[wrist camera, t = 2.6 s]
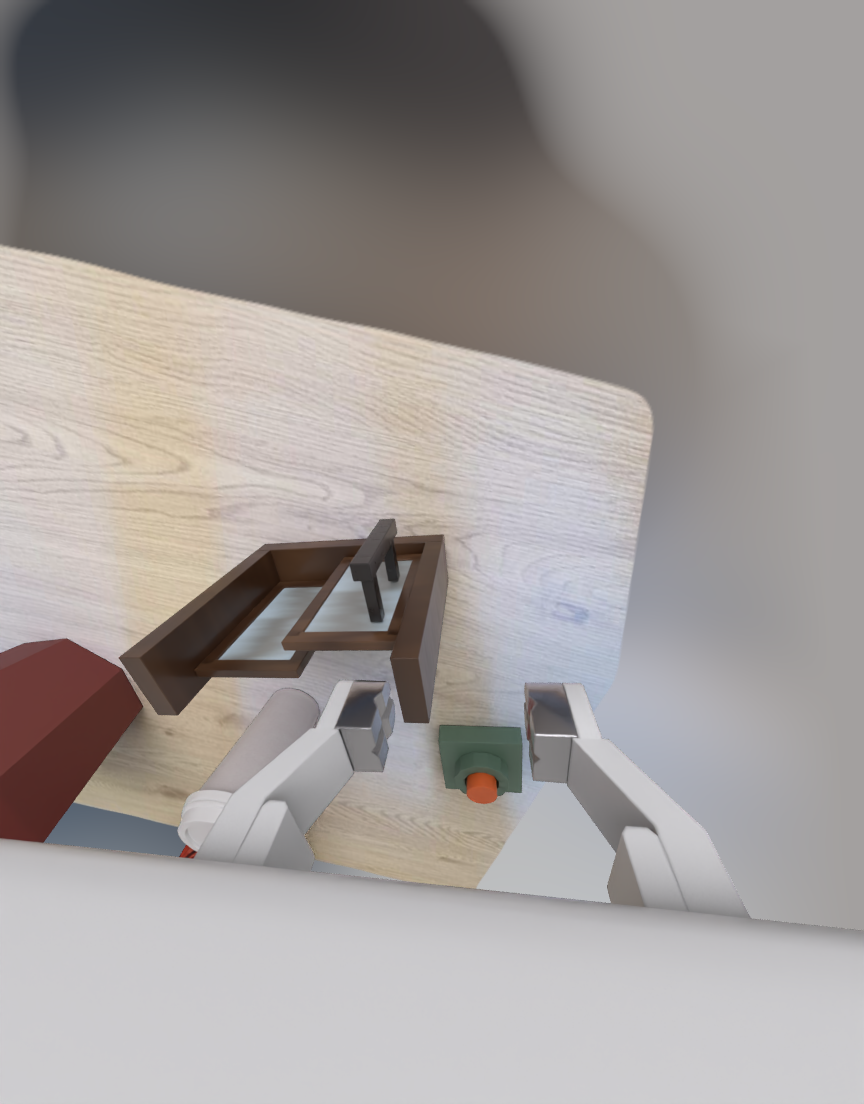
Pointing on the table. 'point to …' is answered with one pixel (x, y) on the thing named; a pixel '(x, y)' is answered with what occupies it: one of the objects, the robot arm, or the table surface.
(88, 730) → the bucket
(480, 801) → the button
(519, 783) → the button block
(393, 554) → the sliding window sash
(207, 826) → the coffee cup
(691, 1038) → the robot arm
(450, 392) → the table surface
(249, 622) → the window frame
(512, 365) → the table surface
